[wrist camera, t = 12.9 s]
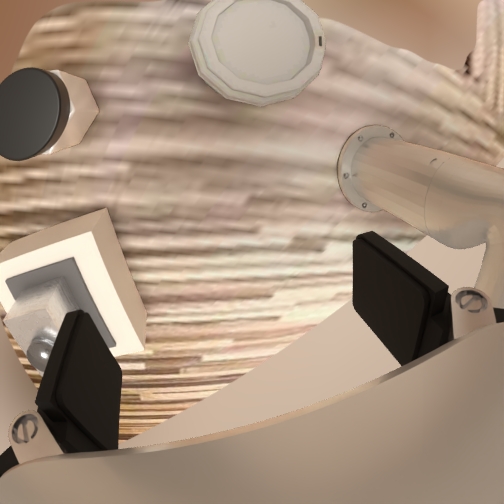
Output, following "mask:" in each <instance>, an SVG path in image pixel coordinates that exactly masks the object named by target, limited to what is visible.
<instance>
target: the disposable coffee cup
mask: <svg viewBox="0 0 504 504" xmlns="http://www.w3.org/2000/svg"><path fill="white" fill-rule="evenodd" d="M188 45H189V48H190V51H191V54H192V57H193V60H194V63H195V66H196V69H197V72H198V75H199V76H200V77H201V78H202V79H204V81H205V83H206V84H208V85H209V86H210V87H211V88H212V89H213V90H215V91H216V92H217V93H219V94H221V95H222V96H223V97H225V98H226V99H230V100H235V101H239V102H244V103H248V104H252V105H256V106H260V107H262V106H265V105H269V104H273V103H277V102H281V101H285V100H289V99H293V98H294V97H296V96H297V95H298V94H299V93H300V92H301V91H302V90H303V89H304V88H305V87H306V86H308V85H309V84H310V83H311V82H312V81H313V80H314V79H315V78H316V77H317V76H318V75H319V71H320V70H321V66H322V62H323V58H324V53H325V49H326V42H325V35H324V32H323V29H322V26H321V23H320V20H319V17H318V15H317V14H316V13H315V12H314V11H313V10H312V9H311V8H309V7H308V6H307V5H306V4H305V3H304V2H302V1H301V0H212V1H211V2H210V3H209V4H207V5H206V6H205V7H204V8H203V9H201V10H200V12H199V13H198V14H197V17H196V20H195V23H194V26H193V29H192V33H191V36H190V39H189V43H188Z"/></svg>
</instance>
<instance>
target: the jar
mask: <svg viewBox="0 0 504 504" xmlns="http://www.w3.org/2000/svg"><path fill="white" fill-rule="evenodd" d="M98 113H99V109H98V107H97V105H96V102H95V100H94V98H93V95H92V93H91V91H90V89H89V86H88V84H87V81H86V80H85V79H83V78H80V77H77V76H74V75H72V74H69V73H66V72H63V71H60V70H51V71H46V70H43V69H39V68H24V69H20V70H18V71H16V72H14V73H12V74H11V75H9V76H8V77H7V78H6V79H5V80H4V81H3V82H2V83H1V84H0V155H1V156H2V157H4V158H6V159H9V160H13V161H22V160H26V159H29V158H32V157H35V156H37V155H42V154H52V153H55V152H57V151H60V150H63V149H66V148H69V147H72V146H75V145H78V144H79V143H80V142H81V140H82V138H83V137H84V135H85V133H86V132H87V130H88V128H89V127H90V125H91V124H92V122H93V120H94V119H95V117H96V116H97V114H98Z"/></svg>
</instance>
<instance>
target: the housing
mask: <svg viewBox="0 0 504 504" xmlns="http://www.w3.org/2000/svg"><path fill="white" fill-rule="evenodd" d="M76 310H80V308H79V307H78V305H77V303H76V301H75V299H74V297H73V295H72V293H71V291H70V289H69V287H68V285H67V283H66V281H65V279H64V277H63V276H62V277H59V278H56V279H53V280H49V281H46V282H43V283H40V284H37V285H34V286H31V287H28V288H25V289H23V290H22V291H21V293H20V294H19V296H18V297H17V299H16V301H15V302H14V304H13V305H12V307H11V308H10V310H9V312H8V313H7V315H6V317H5V318H4V320H3V321H4V323H5V325H6V326H7V328H8V329H9V331H10V332H11V334H12V336H13V337H14V339H15V340H16V342H17V343H18V344H19V346H20V347H21V349H22V350H23V352H24V353H25V354H26V356H27V359H28V361H29V362H30V363H31V365H32V366H34V367H35V368H36V369H37V371H38V372H39V373H40V375H41V376H42V377H43V374H44V371H45V368H46V365H47V362H48V359H49V356H50V354H51V351H52V348H53V345H54V343H55V340H56V337H57V335H58V332H59V329H60V327H61V324H62V322H63V319H64V317H65V315H66V313H68V312H72V311H76Z"/></svg>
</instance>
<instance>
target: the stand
mask: <svg viewBox="0 0 504 504" xmlns="http://www.w3.org/2000/svg"><path fill="white" fill-rule="evenodd" d="M62 276H63V277H64V279H65V281H66V283H67V285H68V287H69V289H70V291H71V293H72V295H73V297H74V299H75V301H76V303H77V305H78V307H79V308H80V309H81V310H83V311H84V312H88V313H89V314H90V316H91V318H92V320H93V321H94V323H95V325H96V327H97V329H98V331H99V332H100V334H101V336H102V338H103V339H104V341H105V343H106V344H107V346H108V348H109V350H110V351H111V353H112V355H113V356H114V357H115V356H120V355H125V354H130V353H134V352H139V351H143V350H145V336H146V320H147V311H146V309H145V307H144V304H143V302H142V300H141V297H140V295H139V293H138V290H137V288H136V285H135V283H134V280H133V278H132V275H131V273H130V270H129V268H128V265H127V263H126V260H125V257H124V255H123V252H122V249H121V247H120V244H119V241H118V239H117V236H116V233H115V230H114V227H113V224H112V221H111V218H110V215H109V212H108V209H107V208H104V209H101V210H98V211H95V212H92V213H89V214H86V215H83V216H80V217H77V218H74V219H71V220H68V221H65V222H63V223H60V224H57V225H54V226H52V227H49V228H46V229H43V230H41V231H38V232H36V233H33V234H30V235H28V236H25V237H23V238H20V239H18V240H15V241H13V242H10V243H9V244H8V245H7V246H6V247H5V248H4V249H3V250H2V251H1V252H0V302H1V303H2V305H3V307H4V309H5V311H6V312H7V313H8V312H9V310H10V308H11V307H12V305H13V304H14V302H15V301H16V299H17V297H18V296H19V294H20V293H21V291H22V290H23V289H25V288H28V287H31V286H34V285H37V284H40V283H43V282H46V281H49V280H53V279H56V278H59V277H62Z"/></svg>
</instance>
